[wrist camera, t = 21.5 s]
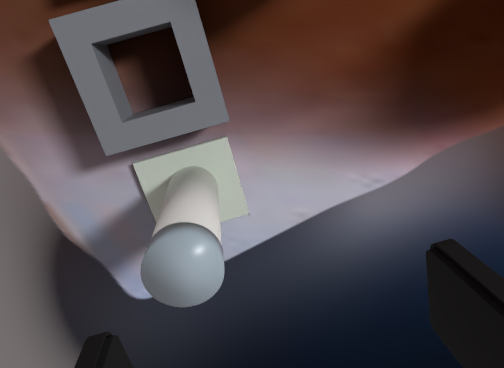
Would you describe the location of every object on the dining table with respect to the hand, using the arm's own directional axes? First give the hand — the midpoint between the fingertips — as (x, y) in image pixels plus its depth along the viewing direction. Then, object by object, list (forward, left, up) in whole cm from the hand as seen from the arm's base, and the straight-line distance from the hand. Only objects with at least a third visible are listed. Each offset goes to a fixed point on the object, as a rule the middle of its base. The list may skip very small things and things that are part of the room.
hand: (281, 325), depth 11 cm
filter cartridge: (+5, -5, -29) cm, 29 cm away
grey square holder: (-8, -5, -29) cm, 30 cm away
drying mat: (+5, -5, -29) cm, 30 cm away
